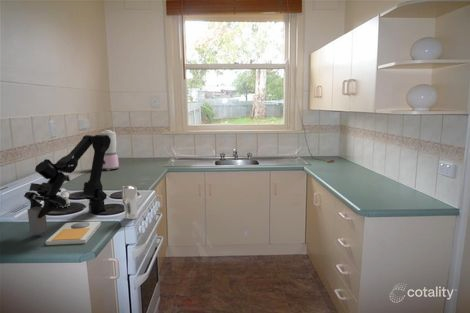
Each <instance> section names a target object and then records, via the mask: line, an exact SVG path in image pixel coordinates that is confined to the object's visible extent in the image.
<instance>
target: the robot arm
mask: <svg viewBox="0 0 470 313" xmlns="http://www.w3.org/2000/svg"><path fill="white" fill-rule="evenodd" d="M110 142H111V139H110V137H109V136H108V135H101V134H95V135H92V134H85V135H84V136H83V137H82V139H80V141H79V142H78V143H77V144H76V145H75V147H74V148H73V149H72V150H71V151H70V153H68V154H67V155H64V156H62V157H61V158H60V159H58V160H57V161H56V163H53V162H52V161H51V160H50V159H47V158H46V159H44V160H43V161H41V162H40V163H38V164H37V165H36V166H35V168H34V170H35V172H36V173H37V174H38V175H40V176H41V177H43V178H44V179H45V180H48V181H47V182H42V183H33V182H32V183H30V186H29V189H28V191H26V192H25V193H24V195H23V197H24V198H25V199H27V200H28V201H29V202H30V206H29V207H30V208H33V207H36V206H37V207H43V208H42V209H41V211H40V213H39V215H38V218H39V219H40V218H42V217H43V216H45V215H46V216H47V214H49V213H50V212H52V211H53V210H55V209H58V208H59V207H65V205H66V200H65V199H64V198H62V197H61V195H59V194H58V193H62V190H61V188H62V186H63V185H64V183H65V182H70V181H71V178H70V176H69V174H72V173H74V172H75V170H76V169H77V167H78V166H79V160H80V159H81V158H82V157H83V155H84V154H85V153H86V152H87V150H89V148H90V147H91V146H92V148H93V151H94V152H93V159H92V164H91V169H90V176H89V179H88V181H86V182H85V181H84V183H83V189H82V191H83V195H84V196H85V198H86V200H88V212H91V213H93V214H97V213H96V212H98V213H100V212H99V211H102V212H104V211H103V210H106V211H107V208H105V206H106V205H105V200H107V197H108V194H107V193H106V192H104V190H103V184H102V182H101V179H102V178H101V177H102V172H103V161H104V155H105V152H106V151H107V150H108V148H109V146H110ZM42 201H43V204H42V203H41V202H42ZM30 208H29V209H30Z"/></svg>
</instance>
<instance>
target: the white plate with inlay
mask: <svg viewBox="0 0 470 313" xmlns="http://www.w3.org/2000/svg"><path fill="white" fill-rule="evenodd" d="M100 226H102V221H79V222H74V221H73V222H66V223H64V224H63V225H62V226H60V228H59V229H58V230H56V232H55V233H53V234H52V235H51V236H50V237H49V238H47V240H45V245H46V246H49V245H50V246H53V245H54V246H55V245H56V246H57V245H72V244H73V245H75V244H86V243H87V242H88V241H89V240H90V239H91V237H92V236H93V235H94V234H95V232H97V230H98V229H99V228H100Z"/></svg>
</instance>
